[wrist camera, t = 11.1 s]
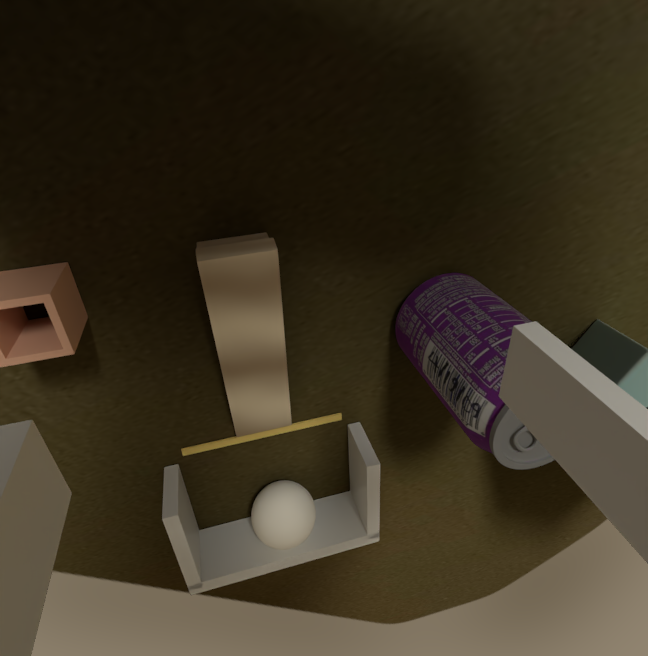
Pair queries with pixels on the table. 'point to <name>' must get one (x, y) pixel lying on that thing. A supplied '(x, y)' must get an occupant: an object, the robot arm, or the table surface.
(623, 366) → the hexagonal wall shelf
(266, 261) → the ramp
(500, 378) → the beverage can
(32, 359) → the salmon pink box
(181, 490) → the fence
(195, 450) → the line
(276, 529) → the ball
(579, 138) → the table surface
